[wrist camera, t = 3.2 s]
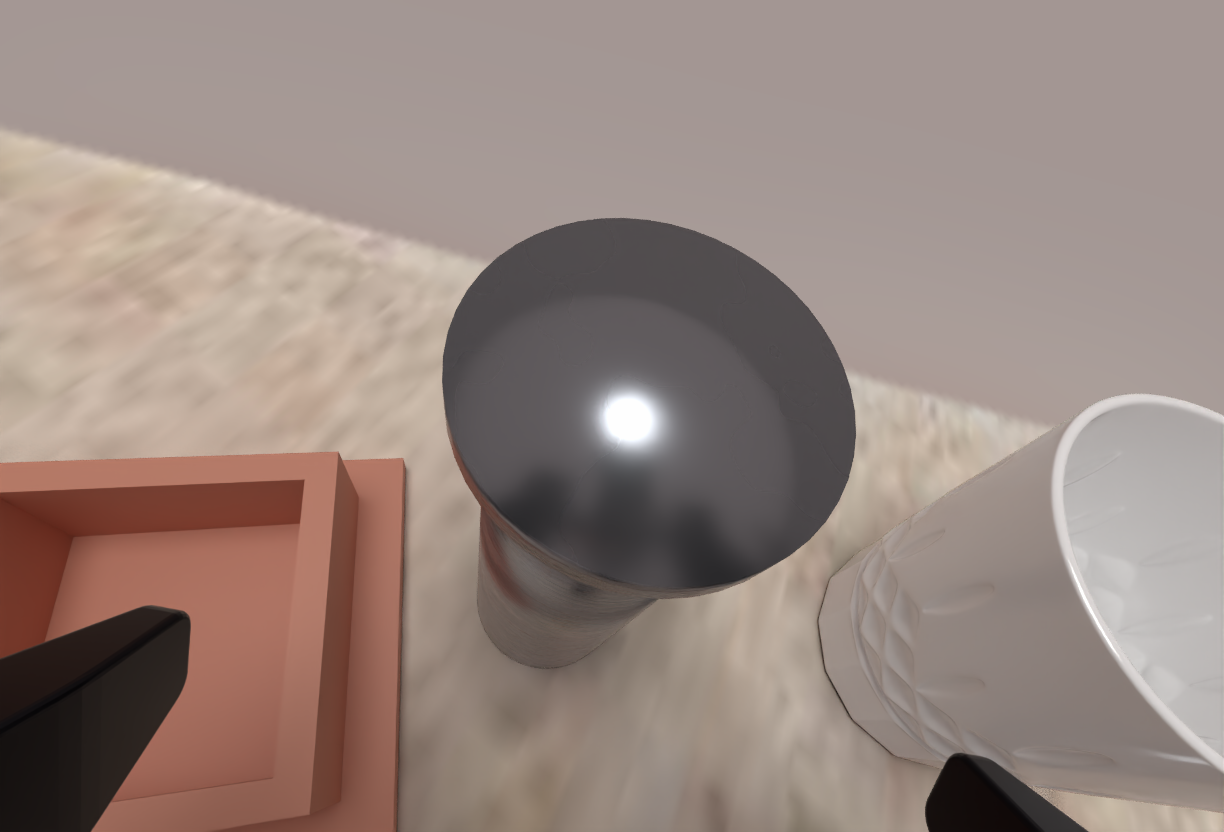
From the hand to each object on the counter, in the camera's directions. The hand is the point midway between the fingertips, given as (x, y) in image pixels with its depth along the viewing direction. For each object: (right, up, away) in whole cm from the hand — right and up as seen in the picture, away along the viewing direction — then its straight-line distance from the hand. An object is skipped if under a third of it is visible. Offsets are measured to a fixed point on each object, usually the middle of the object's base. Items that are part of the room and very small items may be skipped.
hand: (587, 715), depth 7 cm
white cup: (+10, -4, +13) cm, 17 cm away
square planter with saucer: (-10, -3, +9) cm, 14 cm away
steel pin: (-2, -2, +11) cm, 12 cm away
